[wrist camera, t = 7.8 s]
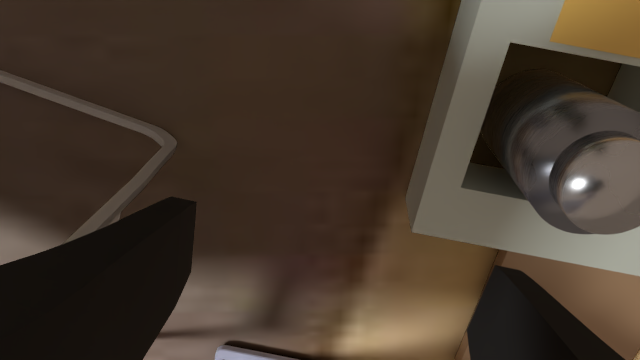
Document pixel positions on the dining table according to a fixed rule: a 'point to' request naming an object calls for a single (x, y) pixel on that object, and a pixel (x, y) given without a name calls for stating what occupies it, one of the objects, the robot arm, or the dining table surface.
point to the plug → (567, 151)
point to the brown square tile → (583, 298)
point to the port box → (469, 112)
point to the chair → (163, 138)
